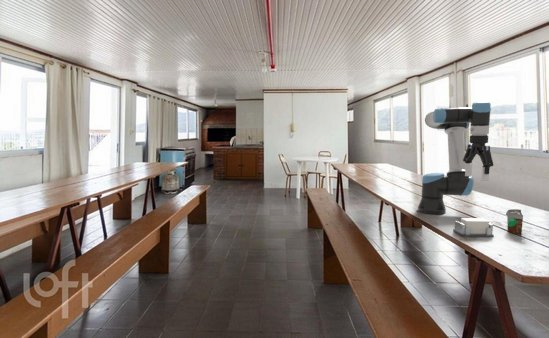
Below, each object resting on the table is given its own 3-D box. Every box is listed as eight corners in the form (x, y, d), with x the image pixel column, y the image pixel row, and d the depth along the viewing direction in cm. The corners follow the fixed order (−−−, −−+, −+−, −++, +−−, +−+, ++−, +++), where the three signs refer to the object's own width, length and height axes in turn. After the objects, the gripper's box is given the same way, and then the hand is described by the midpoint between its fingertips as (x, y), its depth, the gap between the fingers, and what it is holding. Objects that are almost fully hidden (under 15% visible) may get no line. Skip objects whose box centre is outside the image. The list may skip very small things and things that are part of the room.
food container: (504, 227, 158) (505, 207, 157) (519, 229, 154) (521, 209, 153) (505, 233, 148) (506, 213, 146) (521, 236, 144) (523, 215, 143)
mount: (463, 237, 144) (464, 225, 143) (453, 230, 153) (453, 220, 152) (493, 236, 144) (494, 225, 143) (481, 230, 153) (482, 219, 152)
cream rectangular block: (465, 233, 146) (466, 221, 145) (460, 230, 151) (461, 218, 150) (488, 233, 145) (489, 221, 144) (482, 230, 150) (482, 218, 149)
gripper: (457, 134, 163) (454, 174, 166) (487, 135, 138) (484, 183, 141) (471, 133, 162) (469, 174, 165) (505, 135, 138) (501, 182, 141)
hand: (476, 178), depth 153 cm, fingers open, 13 cm apart
